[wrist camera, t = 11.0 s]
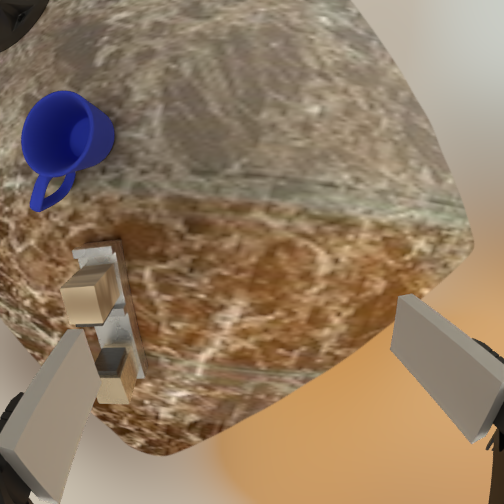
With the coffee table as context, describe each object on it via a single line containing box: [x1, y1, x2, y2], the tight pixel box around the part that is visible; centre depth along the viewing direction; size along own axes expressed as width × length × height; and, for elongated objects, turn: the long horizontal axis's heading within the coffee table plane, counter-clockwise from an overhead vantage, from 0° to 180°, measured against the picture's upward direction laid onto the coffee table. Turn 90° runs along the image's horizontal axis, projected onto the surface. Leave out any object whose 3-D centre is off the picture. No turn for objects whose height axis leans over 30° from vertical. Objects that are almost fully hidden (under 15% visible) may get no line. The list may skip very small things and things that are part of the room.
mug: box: [21, 91, 114, 212], centre depth 28 cm, size 8×12×10 cm
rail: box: [72, 239, 148, 404], centre depth 34 cm, size 19×5×10 cm, turn 3°
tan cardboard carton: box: [60, 263, 120, 327], centre depth 31 cm, size 5×4×7 cm
